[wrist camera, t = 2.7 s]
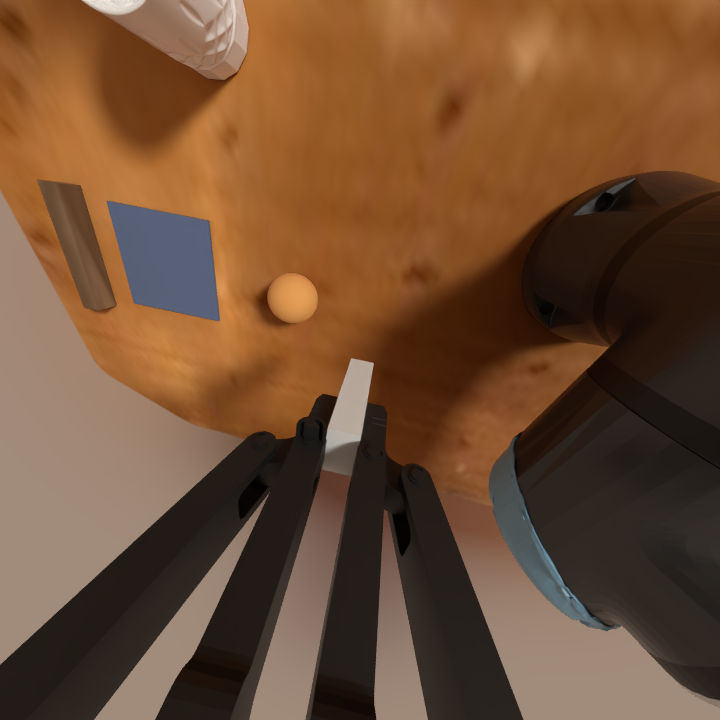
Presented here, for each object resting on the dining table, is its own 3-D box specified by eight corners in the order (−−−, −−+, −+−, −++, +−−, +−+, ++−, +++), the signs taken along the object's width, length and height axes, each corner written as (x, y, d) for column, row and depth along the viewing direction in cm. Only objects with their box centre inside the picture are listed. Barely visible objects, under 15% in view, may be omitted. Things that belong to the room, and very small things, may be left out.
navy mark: (209, 220, 29) (207, 220, 29) (219, 320, 35) (218, 320, 35) (108, 201, 30) (106, 200, 29) (135, 302, 35) (134, 303, 35)
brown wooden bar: (80, 185, 29) (54, 183, 27) (116, 305, 36) (98, 310, 34) (63, 182, 29) (36, 179, 27) (103, 302, 36) (84, 307, 34)
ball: (325, 274, 30) (311, 284, 25) (321, 318, 33) (307, 335, 28) (279, 265, 30) (257, 273, 26) (279, 309, 33) (258, 324, 28)
